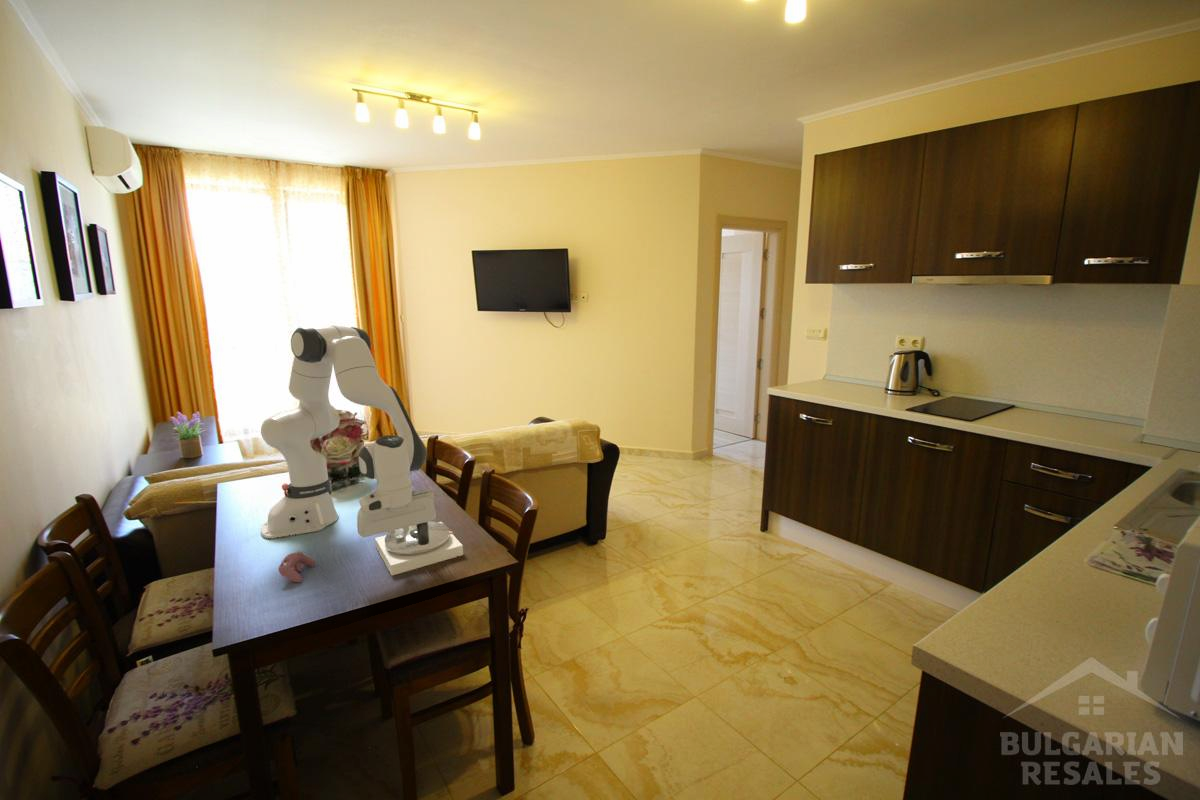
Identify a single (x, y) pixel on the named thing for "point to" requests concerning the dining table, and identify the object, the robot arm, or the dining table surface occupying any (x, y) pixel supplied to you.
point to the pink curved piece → (295, 565)
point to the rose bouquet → (342, 451)
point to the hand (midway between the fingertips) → (399, 542)
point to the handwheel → (419, 539)
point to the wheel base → (411, 562)
